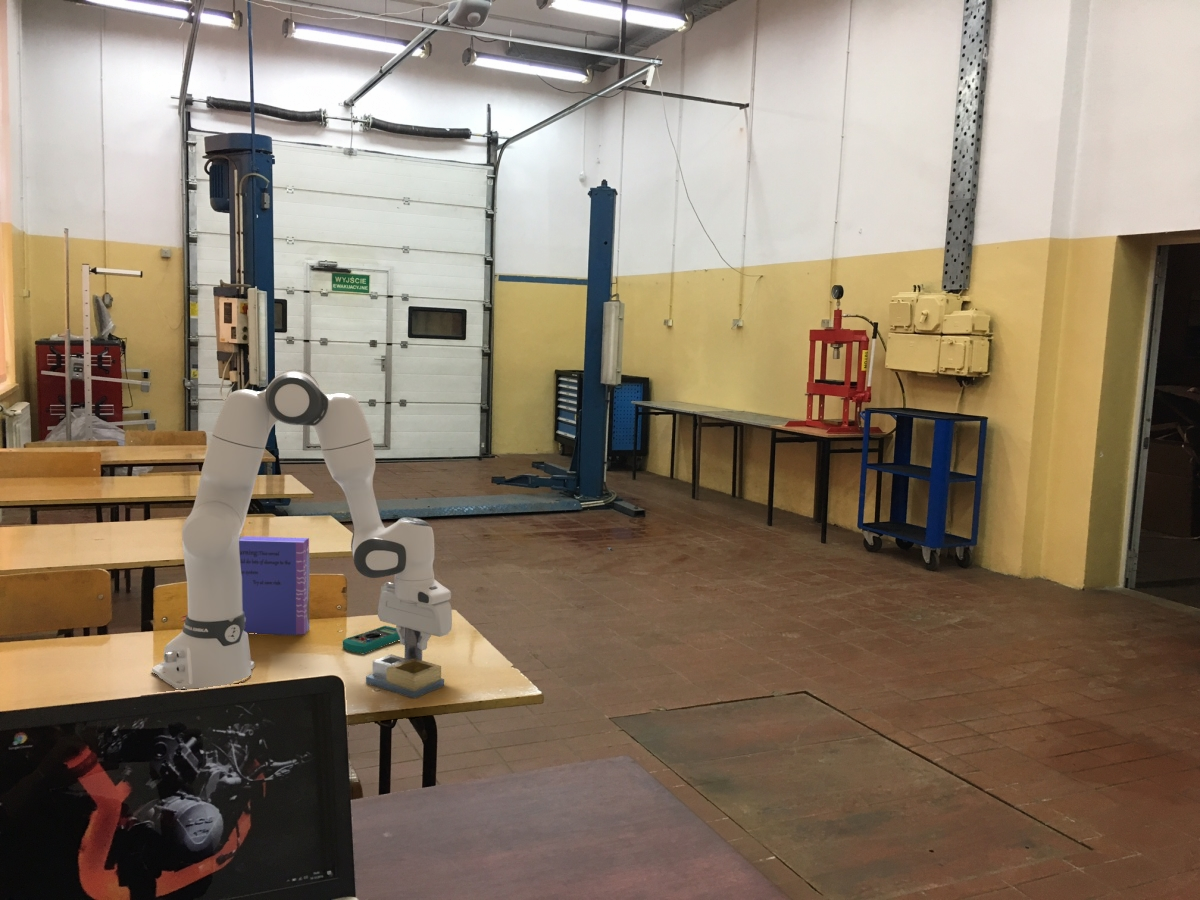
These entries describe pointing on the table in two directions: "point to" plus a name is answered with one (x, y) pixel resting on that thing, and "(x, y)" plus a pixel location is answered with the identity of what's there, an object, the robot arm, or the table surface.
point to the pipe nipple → (412, 644)
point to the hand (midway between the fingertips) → (413, 646)
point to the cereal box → (275, 584)
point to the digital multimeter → (371, 639)
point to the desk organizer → (405, 676)
